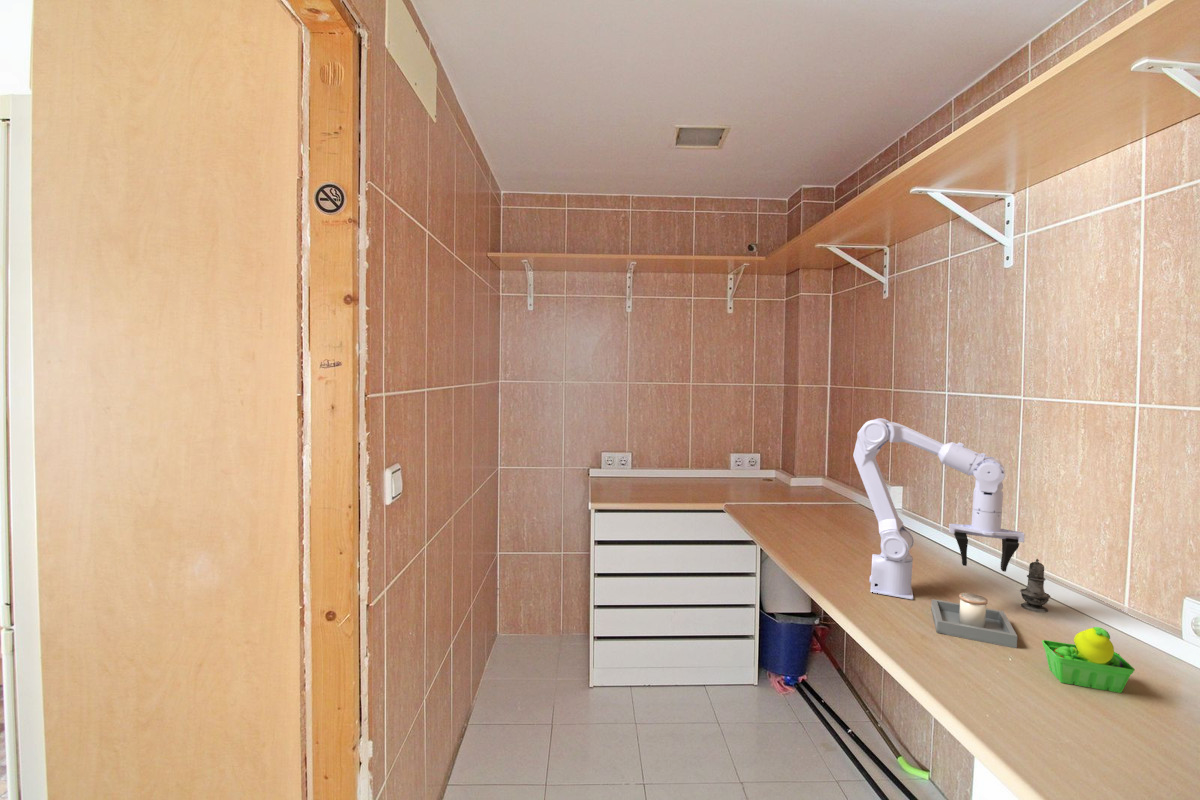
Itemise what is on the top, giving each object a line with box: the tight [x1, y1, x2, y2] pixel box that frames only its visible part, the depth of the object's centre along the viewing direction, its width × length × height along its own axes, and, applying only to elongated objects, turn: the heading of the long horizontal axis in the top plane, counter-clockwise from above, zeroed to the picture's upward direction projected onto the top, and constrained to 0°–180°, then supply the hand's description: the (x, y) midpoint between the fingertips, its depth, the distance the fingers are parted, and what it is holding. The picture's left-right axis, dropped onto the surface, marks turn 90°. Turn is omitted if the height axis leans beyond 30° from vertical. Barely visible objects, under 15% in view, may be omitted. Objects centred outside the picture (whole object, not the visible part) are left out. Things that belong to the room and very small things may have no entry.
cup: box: [958, 592, 989, 628], centre depth 126 cm, size 5×5×6 cm
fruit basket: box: [1041, 626, 1135, 694], centre depth 103 cm, size 11×9×11 cm
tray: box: [930, 598, 1018, 649], centre depth 125 cm, size 14×14×2 cm
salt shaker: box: [1019, 558, 1051, 613], centre depth 137 cm, size 6×6×12 cm
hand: (983, 567), depth 134 cm, fingers open, 7 cm apart
